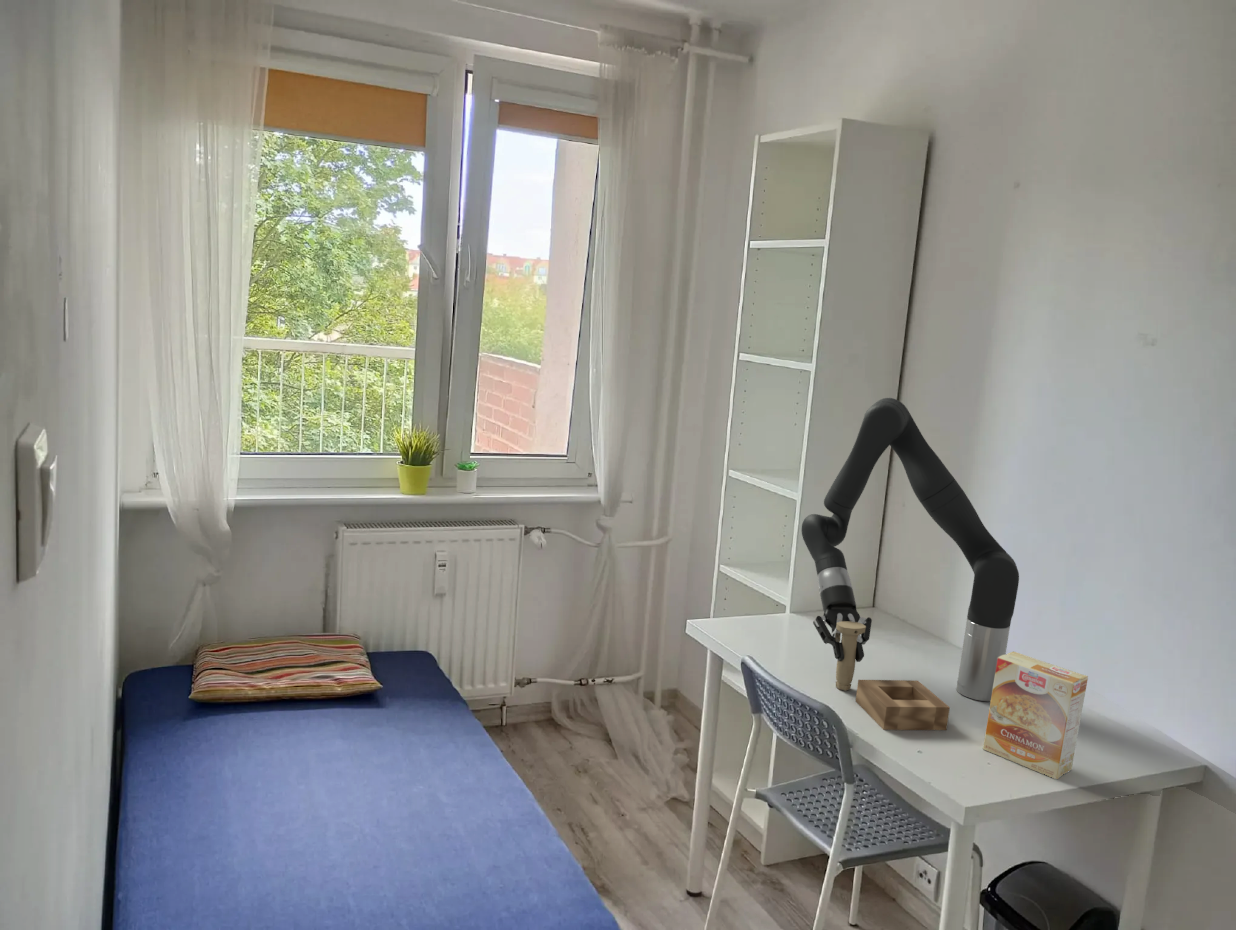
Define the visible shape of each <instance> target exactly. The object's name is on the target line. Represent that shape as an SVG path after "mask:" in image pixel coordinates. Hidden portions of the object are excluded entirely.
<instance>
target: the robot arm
mask: <svg viewBox="0 0 1236 930" xmlns="http://www.w3.org/2000/svg"><path fill="white" fill-rule="evenodd" d="M860 425H861V426H860V428H859V431H858V433H857V436H856V439H855V442H854V444H853V447H852V449H851V450H850V453H849V455H848V457H847V459H846V460H845V462H844V463H843V465H842V467H841V469H840V470H839V472H838V474H837V475H836V477H835V479H834V481H833V482H832V484H831V486H830V488H829V489H828V491H827V493H826V495H825V497H824V499H823V505H824V507H825V508H826V509H827V511H828V512H830V513H831V514H832V515H831V516H827V515H822V514H816V513H813V514H809V515H807V516H805V518H804V519H803V520H802V521H803V522H802V524H801V536H802V540H803V542H804V545H805V546H806V548H807V550H808V552H809V554H810V556H811V558H812V559H813V561H814V564H815V565H814V566H815V571H816V576H817V584H818V592H819V596H820V601H821V606H822V611H823V615H822V616H821V615H817V616H816V617H815V619H814V620H813V621H812V624H813V625H814V628H815V629H816V632H817V633H818V634H819V636H820V638H821V640H822V641H823V644H825V645H827V644H829V645H831V646H832V649H833V654H834V658H835V659H836V660H838V661H843V659H844V653H843V648H842V643H841V636H842V633H841V632H839V631H838V630H837V629H836V625H837V622H841V621H852V622H859V623H862V624H863V625H865V626H866V629H865V632H864V633H862V634H860V635H858V638H857V645H856V659H855V663H860V662H861V661H862V660H863V658H864V657H865V652H864V648H863V646H864V645H865V644H866V643H867V642H868V641H869V640H870V635H871V629H872V621H873V619H872V618H871V617H867V618H865V617H862V616H861V615H860V613H859V612H858V610H857V603H856V599H855V595H854V590H853V585H852V581H851V577H850V575H849V573H848V568H847V563H846V559H845V555H844V553H843V551H842V550H841V549H839V548H837V546H839V545H840V544H842V542H844V540H845V538H846V535H847V532H848V527H849V523H850V521H851V520H850V519H851V516H852V512H853V510H854V508H855V506H856V505H857V503H858V501H859V499H860V498H861V496H862V494H863V492H864V490H865V488H866V485H867V484H868V481H869V479H870V477H871V474H872V472H873V469H874V468H875V467H876V466H875V465H876V464H877V462H878V461H879V460H880V457H882V454H884V452H885V451H886V450H887V449H888V447H889V446H890V448H891V449H892V450H893V451H894V453H895V454H896V455H897V456H898V458H899V460H900V462H901V463H902V466H903V468H904V471H905V474H906V477H907V479H908V481H909V484H910V487H911V489H912V492H913V493H914V494H915V495H914V496H916V498H917V499H918V501H919V502H920V504H921V505H922V507H923V508H924V510H925V511H926V512H927V514H928V515H929V516H930V517H931V519H932V520H933V521H934V522H935V524H937V525H938V526H939V528H941V529H942V531H944V533H946V534H947V535H948V536H949V537H950V538H951V539H952V541H953V542H954V543H955V544H956V545H957V546H958V548H959V549H960V551H961V552H962V554H963V555H964V557H965V559H966V560H967V562H968V564H969V566H970V569H971V570H972V572H973V575H974V576H973V583H972V589H971V595H970V602H969V606H968V608H967V609H968V610H967V615H966V622H965V628H964V629H965V631H964V636H963V642H962V649H961V655H960V661H959V669H958V677H957V681H956V688H955V689H956V691H957V692H958V693H959V694H961V695H962V696H964V697H967V698H969V699H972V700H976V701H981V702H991V696H992V690H993V684H994V678H995V672H996V666H997V660H998V657H999V656H1002V655H1006V654H1007V648H1008V642H1009V635H1010V629H1011V623H1012V619H1013V617H1014V612H1015V606H1016V601H1017V595H1018V590H1019V582H1020V573H1019V570H1018V567H1017V563H1016V561H1015V560H1014V559H1013V558H1012V556H1011V555H1010V554H1008V552H1007V550H1005V549H1004V548H1003V547H1002V546H1001V545H1000V543H999V542H998V540H996V539H995V537H993V536H992V535H993V534H991V533H990V532H989V530H988V529H987V528H986V526H985V525H984V523H983V522H982V520H981V518H980V516H979V514H978V512H977V511H976V509H975V507H974V505H973V503H972V502H971V500H970V498H968V496H967V493H966V492H965V491H964V490H963V488H962V487H961V485H960V484H959V482H958V481H957V479H956V478H955V477H954V476H953V475H952V473H951V472H950V471H949V469H948V468H947V467H946V465H945V463H944V462H943V461H942V460H941V459H940V457H939V456H938V455H937V453H936V452H935V451H934V450H933V448H932V447H931V446H930V445H929V443H928V442H927V440H926V438H925V437H924V436H923V434H922V432H921V430H920V429H919V427H918V425H917V423H916V421H915V420H914V418H913V417H912V415H911V413H910V411H909V410H908V408H907V406H906V405H905V404H904V403H903V402H901V401H900V400H898V399H896V398H892V397H885V398H881V399H879V400H877V401H876V402H875V403H873V404H872V405H871V406H869V408H867V410H866V411H865V413H864V416H863V418H862V421H861V424H860ZM827 625H828V626H829V627H830V629H831V630H829V628H828V627H827Z"/></svg>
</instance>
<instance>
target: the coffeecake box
mask: <svg viewBox="0 0 1236 930" xmlns="http://www.w3.org/2000/svg"><path fill="white" fill-rule="evenodd" d="M1088 680H1089V676H1088V675H1086V674H1085V675H1084V674H1081V673H1079V672H1076V671H1073V670H1069V669H1067V668H1065V667H1061V666H1058V665H1055V664H1052V663H1050V662H1046V661H1043V660H1041V659H1037V658H1035V657H1031V656H1029V655H1025V654H1023V653H1020V652H1016V651H1011V652H1009V653H1006V655H1002V656H999V657H998V660H997V666H996V672H995V678H994V684H993V690H992V696H991V701H990V704H989V709H988V717H987V722H986V723H987V724H986V728H985V734H984V740H983V741H984V742H983V748H982V749H983V750H984V751H986V752H989V753H991V754H994V755H996V756H999V757H1001V758H1004V759H1005V760H1008V761H1010V762H1013V763H1015V764H1017V765H1020V766H1023V767H1025V768H1026V769H1027V768H1028V769H1030V770H1033V771H1034V772H1037V773H1040V774H1042V775H1044V774H1045V775H1044V776H1046V775H1047V776H1046V777H1048V778H1049V777H1050V778H1051V777H1052V779H1054V780H1058V779H1060V778H1061V777H1063V776H1064V775H1066V774H1068V773H1069V772H1068V771H1070V770H1071V771H1072V768H1073V765H1074V764H1073V763H1074V759H1075V758H1074V757H1075V751H1076V748H1077V747H1076V746H1077V741H1078V737H1079V736H1078V735H1079V731H1080V725H1081V718H1082V714H1083V707H1084V703H1085V702H1084V701H1085V696H1086V691H1087V685H1088ZM1071 771H1070V772H1071ZM1067 772H1068V773H1067ZM1065 773H1066V774H1065ZM1063 774H1064V775H1063ZM1060 776H1061V777H1060ZM1059 777H1060V778H1059ZM1057 778H1058V779H1057Z"/></svg>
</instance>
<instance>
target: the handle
mask: <svg viewBox="0 0 1236 930" xmlns="http://www.w3.org/2000/svg"><path fill="white" fill-rule="evenodd" d="M836 629H837V630H838V631H839V632H841V639H840V643H842V648H843V653H844V659H843V661H838V659H836V660H837V661H836V669H835V670H836V671H835V680H836V681H835V688H836V689H838V690H841V691H844V692H845V691H848V690H851V687H852V682H853V678H854V675H855V670H856V669H855V668H856V645H857V638H858V635H860V636H861V634H862V633H864V632H865V629H866V626H865V625H863V624H862V623H859V622H852V621H841V622H837V625H836Z"/></svg>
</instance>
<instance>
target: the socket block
mask: <svg viewBox="0 0 1236 930" xmlns="http://www.w3.org/2000/svg"><path fill="white" fill-rule="evenodd" d="M855 703H857V705H859V707H860V708H861V709H862V710H863V711H865V713H866V714H868V716H869V717H870V718H871V719H872V720H873V721H874V722H875V723H876V724H877V725H878V726H879V727H880V728H881V729H882V730H884V731H885V730H886V731H887V730H889V731H891V730H892V731H947V728H948V721H949V715H950V708H951V707H950V706H949V705H948V704H947V703H945V702H944V701H943V700H942V699H940V698H939V697H938V695H935V694H934V693H933V692H932V691H931V690H930V689H929V688H927V687H926V686H925V685H924V684H923V683H921V682H920V681H919V680H912V679H911V680H905V679H903V680H900V679H899V680H898V679H891V680H890V679H858V680H857V688H856V696H855Z"/></svg>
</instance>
